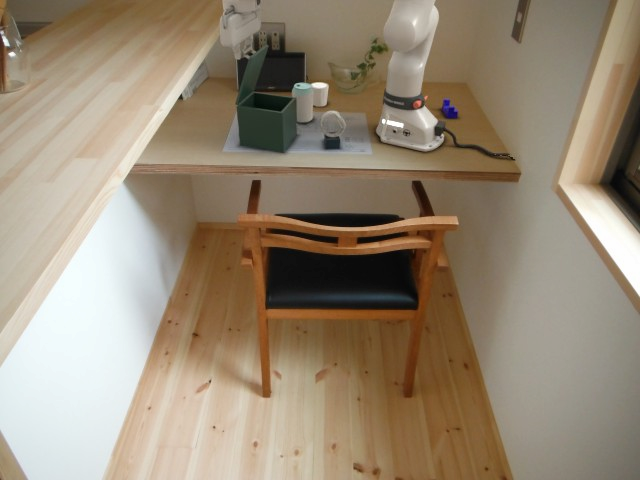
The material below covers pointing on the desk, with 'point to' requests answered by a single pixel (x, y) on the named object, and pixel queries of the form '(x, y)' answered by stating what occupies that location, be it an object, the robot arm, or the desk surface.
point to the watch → (332, 137)
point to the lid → (251, 71)
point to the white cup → (320, 93)
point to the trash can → (267, 121)
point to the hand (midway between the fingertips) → (243, 55)
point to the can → (303, 101)
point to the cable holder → (449, 109)
